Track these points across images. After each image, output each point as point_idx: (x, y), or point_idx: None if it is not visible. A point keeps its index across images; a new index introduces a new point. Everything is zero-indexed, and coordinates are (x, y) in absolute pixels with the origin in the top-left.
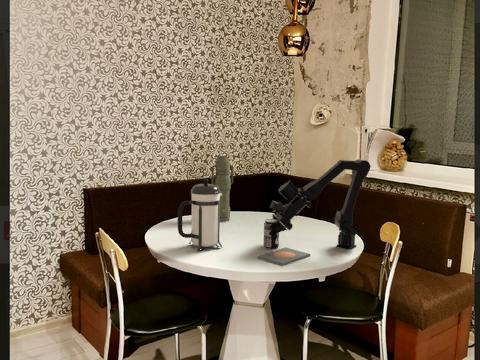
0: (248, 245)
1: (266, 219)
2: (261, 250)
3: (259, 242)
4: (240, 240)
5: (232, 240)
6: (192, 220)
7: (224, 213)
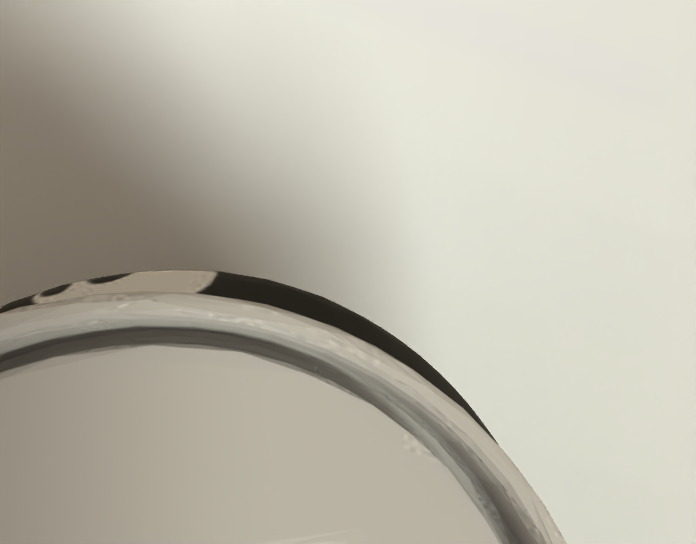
0: (397, 151)
1: (516, 481)
2: (78, 258)
3: (533, 371)
4: (661, 126)
5: (668, 25)
6: None
7: None
